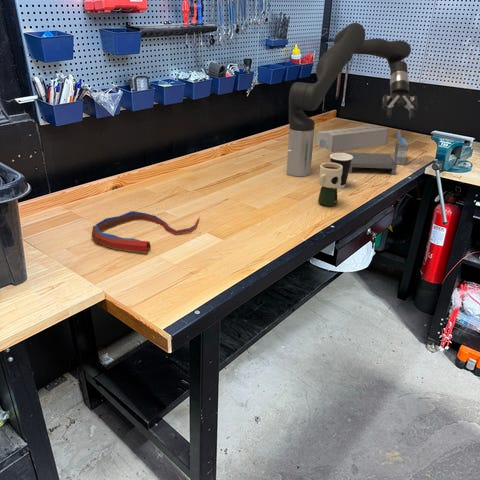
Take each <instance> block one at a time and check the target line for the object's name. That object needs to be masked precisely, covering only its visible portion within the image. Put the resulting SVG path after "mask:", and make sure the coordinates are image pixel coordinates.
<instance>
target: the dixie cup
mask: <svg viewBox="0 0 480 480" xmlns="http://www.w3.org/2000/svg"><path fill="white" fill-rule="evenodd" d="M329 157H330V163H337V164H340V165H342V166H343V170H342V176H341V185H340V186H339V187H337V189H344V187H345V186H346V185H347V182H348V176H349V174H350V173H349V169H350V165H351V161H352V159H353V156H352V155H349V154H346V153H345V152H334V153H331V154H330V155H329Z"/></svg>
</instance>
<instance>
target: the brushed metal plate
mask: <svg viewBox="0 0 480 480" xmlns="http://www.w3.org/2000/svg"><path fill="white" fill-rule="evenodd" d="M344 153H346V154H349V155H352V156H353V159H352V161H351V165H350V169H349V173H348V174H352V171H353V168H364V169H365V168H369V169H370V168H371V169H387V170H388V172H389V174H390V175H391V176H395V175H396V174H397V173H396V172H397V166H398V164H396V163H395V160H394V157H393V156H392V155H391V154H390V153H380V152H379V153H375V152H374V153H372V152H349V151H348V152H347V151H346V152H344Z"/></svg>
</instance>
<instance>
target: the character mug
mask: <svg viewBox="0 0 480 480" xmlns="http://www.w3.org/2000/svg"><path fill="white" fill-rule="evenodd" d="M342 170H343V166H342V165H340V164H337V163H331V162H322V163H321V164H320V165H319V176H318V177H319V178H318V184H319V186H321V187H320V190H319V193H318V199H317V202H318V203H320V204H321V205H324V206H326V207H327V206H329V207H330V206H331V207H332V206H335V205H338V188H337V187H339V186H340V185H341V176H342Z"/></svg>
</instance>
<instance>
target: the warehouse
mask: <svg viewBox="0 0 480 480" xmlns="http://www.w3.org/2000/svg"><path fill="white" fill-rule="evenodd" d="M389 130H390V129H389V128H383V127H378V126H370V125H367V126H357V127H356V126H355V127H349V128H339V129H331V130H322V131H316V132H314V144H315V145H317V146H320V147H322V148H324V149H326V150H327V151H330V152H340V151H347V150H354V149H362V148H372V147H377V146H384V145H385V146H386V145H387V142H388V137H389Z"/></svg>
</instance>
